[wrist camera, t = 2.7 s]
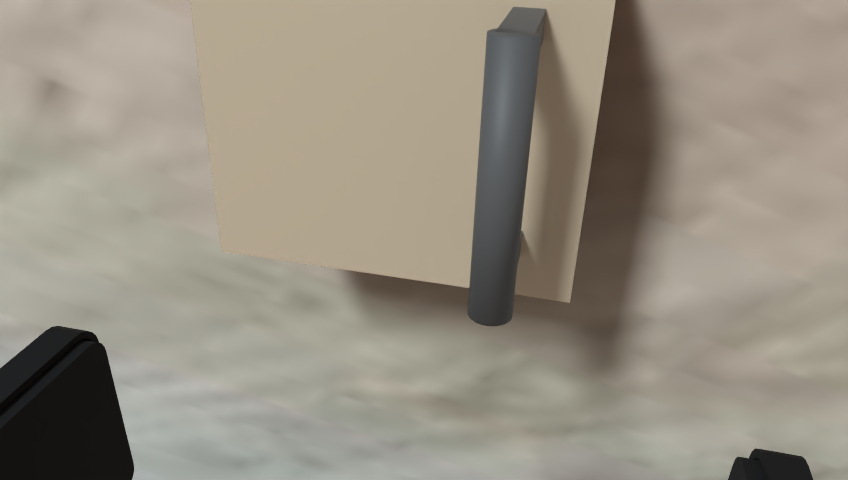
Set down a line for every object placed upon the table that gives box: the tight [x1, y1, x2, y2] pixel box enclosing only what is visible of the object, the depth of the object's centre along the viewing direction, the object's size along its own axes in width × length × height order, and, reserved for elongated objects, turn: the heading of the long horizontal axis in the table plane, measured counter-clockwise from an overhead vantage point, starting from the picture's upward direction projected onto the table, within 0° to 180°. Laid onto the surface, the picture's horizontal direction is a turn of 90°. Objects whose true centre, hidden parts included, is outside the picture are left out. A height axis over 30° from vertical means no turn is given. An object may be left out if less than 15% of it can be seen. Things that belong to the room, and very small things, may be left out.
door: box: [190, 0, 616, 326], centre depth 22 cm, size 14×12×6 cm
